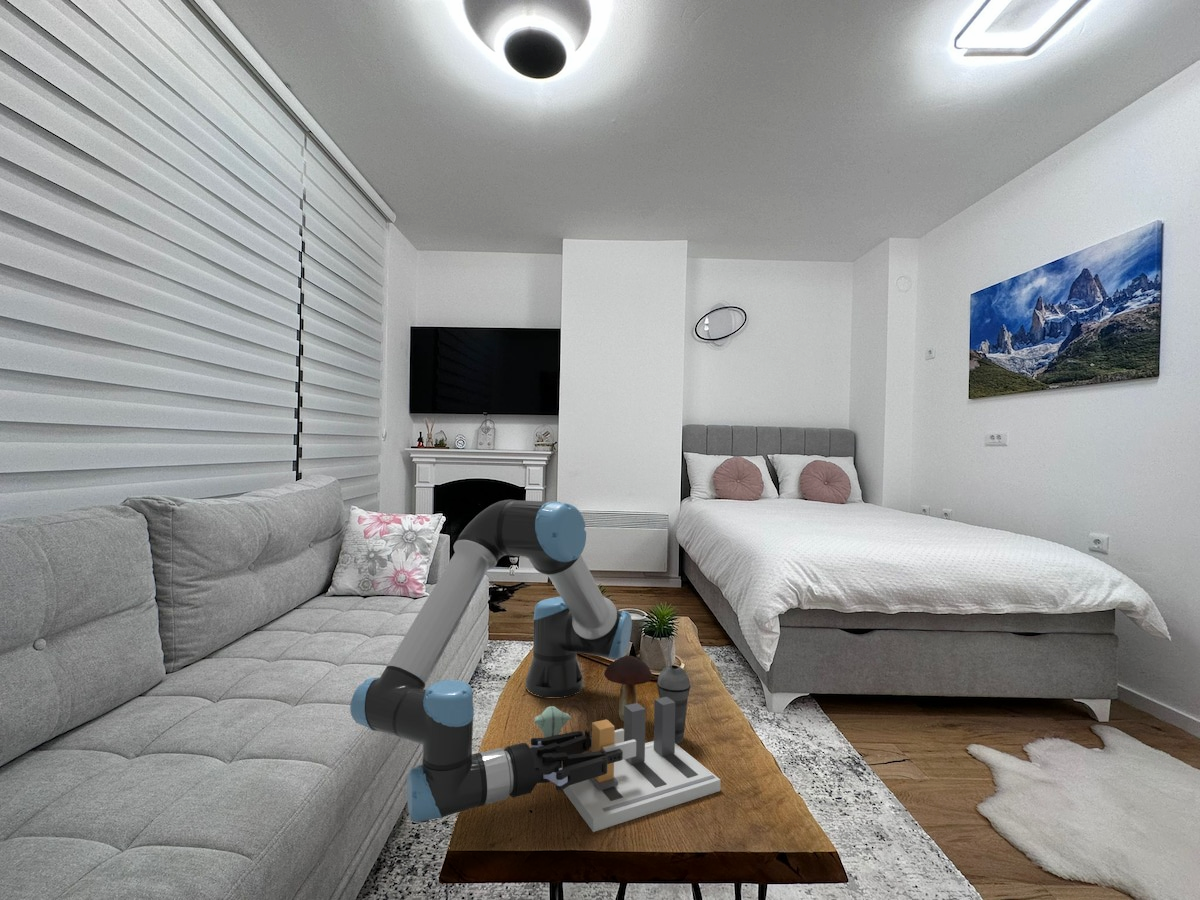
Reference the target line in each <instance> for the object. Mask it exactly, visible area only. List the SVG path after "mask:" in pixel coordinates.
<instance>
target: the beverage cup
mask: <svg viewBox="0 0 1200 900" xmlns="http://www.w3.org/2000/svg"><path fill="white" fill-rule="evenodd" d="M667 653H668V662H669V663H668V664H669V665H667V666H665V667H664V668H663V669H662V670H661V671H660V673H659V675H658V677H657V683H656V686H657V690H658V695H659V696H658V697H659V698H663V697H668V698H670V699H671V700H673V701H674V702H675V743H676V744H677V745H678V744H681V743H683V741H684V735H685V730H686V729H685V728H686V719H687V708H688V699H689V696H690V689H691V684H690V683H691V682H690V678H689V676H688V673H687V672H686V671H685V669H683V668H682V666H681V667H680V666H679V665H676V664H673V663H672V661H673V660H672V654H671V645H670V644H668V645H667Z"/></svg>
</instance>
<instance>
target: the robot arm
mask: <svg viewBox="0 0 1200 900" xmlns="http://www.w3.org/2000/svg"><path fill="white" fill-rule="evenodd" d="M585 528H586V522H585V519H584V517H583V515H582V513H581V511H580V510H579V509H578V508H577V507H576V506H575V505H573V504H571V503H565V502H564V503H563V502H561V501H554V500H553V501H552V500H551V501H550V500H549V501H545V500H543V501H542V500H541V501H540V500H520V499H519V500H517V499H504V500H499V501H497V502H495V503H492V504H490V505H489V506H488V507H486V508H485V509H483V510H482V511H480V512H479V513H478V514H477V515H475V517H474V518H473V519H472V520H471V521H469V522H468V524H467V525H466V526H465V527H464V529H463V530H462V531H461V532H460V533H459V535H458V537H457V539H456V540H455V542H454V544H453V551H454V553H453V555H452V556H451V558H450V560H449V562H448V563H447V565H446V566H445V568H444V570H443V572H442V573H441V575H440V577H439V578H438V580H437V582H436V583H435V585H434V587H433V588H432V590H431V592H430V593H429V595H428V597H427V599H426V600H425V602H424V603H423V605H422V607H421V608H420V611H419V612H418V614H417V615H416V617H415V619H414V620H413V622H412V624H411V625H410V626H409V629H408V630H407V632H406V633H405V636H404V637H403V639H402V640H401V642H400V643H399V645H398V647H397V649H396V651H395V652H394V653H393V655H392V657H391V658H390V660H389V662H388V663H387V665H386V667H385V669H384V670H383V672H382V673H381V675H380V676H379V677H369V678H367V679H366V680H364V682H363V683H361V684H359V685H358V686H357V687H356V689H355V691H354V693H353V695H352V698H351V701H350V708H349V709H350V711H349V712H350V716H351V718H352V719H353V720H354V722H355V724H359V725H360V726H363V727H366V728H368V729H370V730H371V731H372V732H373V731H375V732H380V733H385V734H388V735H391V736H395V737H399V738H402V739H405V740H408V741H411V742H415V743H418V744H421V745H422V761H421V764H419V765H417V766H414V767H412V768H410V770H408V773H407V780H406V799H407V800H406V801H407V802H406V803H407V809H408V810H407V811H408V815H409V817H410V819H411V820H412V822H414V823H420V822H427V821H432V820H435V819H438V820H439V819H440V820H441V819H443V818H444V817H445V818H446V817H448V816H451V815H454V814H456V813H461V812H464V811H467V810H471V809H474V808H477V807H478V808H480V807H482V806H485V805H491V804H494V803H497V802H500V801H501V802H502V801H505V800H507V799H508V798H509V797H511V798H513V799H514V798H517V797H522V796H524V795H528V794H531V793H532V792H533V791H534V789H535V787H536V786H537V784H543V783H544V784H547V783H550V782H551V783H553V784H555V790H556V791H558V792H559V791H563V789H565V788H566V787H568V786H569V785H572V784H576V783H579V782H582V781H585V780H588V779H592V778H595V777H598V776H601V775H604V774H607V764H610V763H614V762H617V761H621V760H624V759H628V758H632V757H635V756H636V740H635V739H633V740H629V741H625V742H624V728H619V729H616V730H615V736H614V744H613V745H609V746H605V747H603V751H594V752H592V735H591V731H590V730H589V729H585V730H584V731H582V730H578V731H577V730H576V731H573V732H572V731H571V732H566V733H561V734H560V733H559V734H558V735H555V736H550V737H532V738H531V739H530V745H528V744H527V743H526V742H521V743H516V744H512V745H507V746H506V747H505V748H502V747H497V748H493V749H490V750H486V751H482V752H477V753H473V733H474V732H473V730H474V715H475V709H474V703H473V701H474V698H473V694H474V692H473V688H472V687H471V685H470V684H469V683H467V682H465V681H463V680H459V679H455V680H454V679H453V680H451V679H445V680H439V681H436V682H434V683H432V684H430V685H429V686H428V687H427V688H426V689H425V687H426V685H427V683H428V682H429V680H430V677H431V676H432V674H433V672H434V670H435V669H436V666H437V664H439V661H440V659H441V657H442V656H443V653H444V651H445V650H446V648H447V646H448V645H449V642H450V641H451V639H452V637H453V635H454V633H455V632H456V630H457V627H458V625H459V624H460V622H461V620H462V618H463V616H464V615H465V613H466V611H467V609H468V608H469V606H470V604H471V602H472V600H473V598H474V596H475V594H476V592H477V590H478V589H479V586H480V585H481V583H482V582H483V579H484V578H485V575H486V574H487V572H488V571H489V570H492V569H493V570H494V569H495V567H496V566H497V564H498V562H499V560H500V559H501V558H503V557H505V556H514V557H521V558H526V559H528V560H529V562H530V563H531V565H532V566H533V568H534V569H535V570H536V571H537V572H538V573H539V574H542V575H546V576H547V577H548V578H549V580H550V581H551V583H552V585H553V586H554V588H555V589H556V591H557V593H558V594H559V596H556V597H549V598H546V599H542V600H539V602H537V603H536V604H535V606H534V612H533V618H532V619H533V641H532V642H533V650H532V651H533V653H532V659H531V663H530V666H529V669H528V672H527V675H526V677H525V688H526V687H527V689H528V690H529V691H530V692H532V693H533V694H536V695H539V696H542V697H564V696H569V695H572V694H575V693H577V692H579V691H580V690H581V689H582V690H583V688H584V677H583V674H582V671H581V667H580V664H579V661H578V653H580V654H586V655H592V656H597V657H603V658H608V659H615V660H617V659H619V658H621V657H624V656H625V654H626V652H627V650H628V647H629V644H630V640H631V635H632V634H631V633H632V627H633V620H632V616H631V613H630V612H628V611H625V610H618V609H617V607H616V605H615V604H614V602H612V600H611V599H609V598H608V597H605V596H604V595H603V593H602V592H601V590H600V588H599V586H598V584H597V582H596V580H595V579H594V577H593V575H592V572H591V571H590V569H589V567H588V566H587V564H586V561H585V560H584V558H583V556H582V553H583V552H584V548H585V546H586V543H587V542H586V541H587V531H586V529H585ZM582 687H583V688H582ZM582 690H581V691H582ZM581 691H580V692H581ZM580 692H579V693H580ZM577 694H578V693H577ZM575 695H576V694H575ZM572 696H573V695H572ZM542 697H541V698H542ZM569 697H570V696H569ZM564 698H565V697H564ZM590 750H591V751H590Z"/></svg>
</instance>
